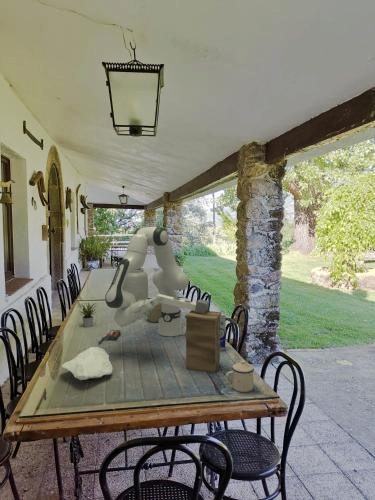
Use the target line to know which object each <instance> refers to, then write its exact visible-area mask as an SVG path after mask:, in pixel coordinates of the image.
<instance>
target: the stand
mask: <svg viewBox="0 0 375 500" xmlns="http://www.w3.org/2000/svg"><path fill="white" fill-rule="evenodd" d="M220 315H222V312H221V311H213V310H211V311H210V310H208V311H207V312H206V313H205V314H203V313H199V312H195V311H193V310H190V311H188V313H186V314H185V315H184V319H185V323H186V324H185V326H186V333H185V369H186V370H192V371H199V372H206V373H213V374H215V373H216V371H217V369H218V368H219V366H220V365H221V361H220V360H221V359H220V358H221V356H220V355H221V354H220V353H221V351H220Z"/></svg>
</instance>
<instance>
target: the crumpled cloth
mask: <svg viewBox="0 0 375 500" xmlns="http://www.w3.org/2000/svg"><path fill="white" fill-rule="evenodd" d="M61 368H62V369H64V370H66V371H69V372H71V374H72V375H73V376H74V378H75V379H78V380H79V381H84V380H85V381H86V380H88V379H98V378H102V377H103V376H109V375H111V374H112V373H113V365H112V363H111V361H110V354H108V353H107V351H106V350H105V349H104V348H101V347H100V346H91V347H89V348H86V349H85V350H83V351H81V352H79V353H78V354H77V355H76V356H75V357H74V358H73V359H71V360H69V361H66V362H64V363H63V364H62V365H61Z"/></svg>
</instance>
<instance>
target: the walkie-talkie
mask: <svg viewBox="0 0 375 500" xmlns="http://www.w3.org/2000/svg"><path fill="white" fill-rule="evenodd" d="M121 333H122V331H121V330H120V329H112V330H110V331H109V332H108V333H106V334H104V335H102V336H101V339H100V340H99V341H98V344H101V343H102V342H103V341H115V342H116V341H117V340H118V339H119V338H120V336H121ZM118 337H119V338H118Z"/></svg>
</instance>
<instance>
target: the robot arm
mask: <svg viewBox="0 0 375 500" xmlns="http://www.w3.org/2000/svg"><path fill="white" fill-rule="evenodd" d="M128 241H129V242H128V244H127V247H126V251H125V254H124V256H123V258H122V259H121V261H120V262H119V263H118V265H117V268H116V270H115V273H114V276H113V277H112V278H113V279H112V281H111V284H110V286H109V288H108V290H107V291H106V293H105V297H104V298H105V299H104V300H105V303H106V305H107V307H108V308H111V309H116V311H115V313H114V315H113V321H114V323H115V324H116V325H117V326H119V327H122V328H125V327H127V326H130V325H132V324H135V322H137V321H139V320H142V319H144V318H146V317H147V316H148V315H149V313H150V312H151V311H152V310H153V308H154V307H156V306H157V305H158V304H160V303H161V302H160V301H162V297H160V298H158V299H156V297H157V295H156V296H153V297H150V298H148V299H146V300H139V301H138V302H136V298H135V295H134V294H133V293H130V292H127V291H123V290H122V287H123V284H124V282H125V279H126V276H127V274H128V273H129V272H130V271H132V270H137V269H139V268H143V266H144V264H145V262H146V258H147V254H148V253H147V252H148V247H153V250H154V251H153V252H154V256H155V259H156V260H155V261H156V264H157V266H158V267H159V268H160V269H161V270H157V271H155V272H154V273H153V275H152V283H153V284H154V287H155V286H156V288H157V290H158V293H159V294H162V295H166V296H170V297H174V298H179V296H178V295H177V294H176V293H175V291H183V290H184V291H185V290H186V289H187V288H188V286H189V283H190V279H189V276H188V275H187V274H186V273H185V272H183V270H182V269H181V267H180V266H179V265H178V263H177V260H176V257H175V253H174V248H173V245H172V242H171V239H170V237H169V233H168V231H167V229H166V228H164V227H161V226H145V227H142V226H141V227H138V228H136V229H135V230H134V232H133V234H132V236H131V237H130V240H128ZM161 305H162V310H161V318H160V319H159V322H158V326H157V327H158V329H156V331H155V332H156V333H158V334H159V335H160V336H163V337H178V336H184V335H185V336H186V325H185V324H184V323H185V321H184V318H183V317H182V316H181V314H182V313H181V312H182V308H181V309H180V307H177V306H173V305H169V304H165V303H161Z"/></svg>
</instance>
